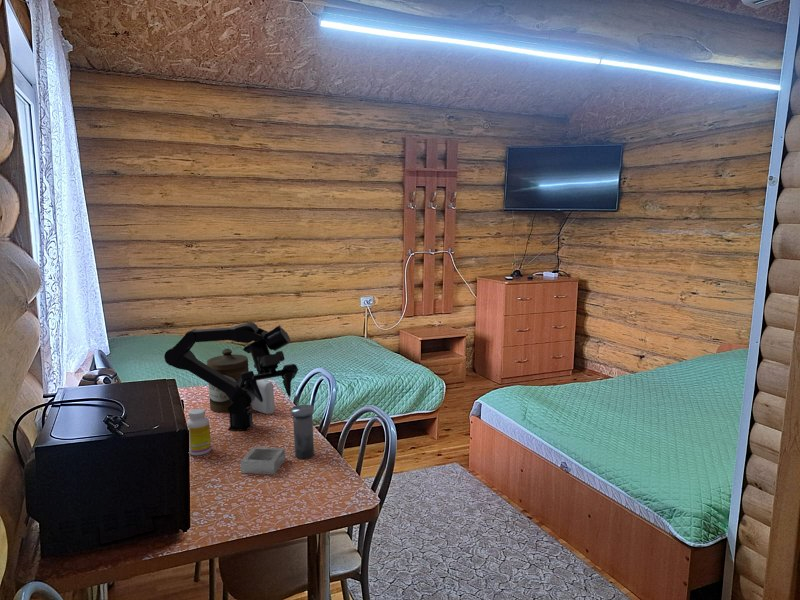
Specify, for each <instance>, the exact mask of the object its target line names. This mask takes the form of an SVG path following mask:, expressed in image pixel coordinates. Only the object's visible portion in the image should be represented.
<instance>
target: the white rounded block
mask: <svg viewBox="0 0 800 600" xmlns="http://www.w3.org/2000/svg"><path fill="white" fill-rule="evenodd" d="M257 385H258V388H259V390H260V393H261V395H262V399H263V401H262V402H260V401H259V400H258V399H257V398H256V397H255V399H254V400H253V402H252V403H251V408H252V409H251V410H254V411H257V412H259V413H263V414H267V415H272V414H273V413H274V412H275V410H276V409H275V407H276V406H275V395H274V393H275V391H274V384H273V383H272V382H271V381H270V380H269V379H268V378H267V379H262V380H257Z"/></svg>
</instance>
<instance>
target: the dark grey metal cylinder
mask: <svg viewBox="0 0 800 600" xmlns="http://www.w3.org/2000/svg"><path fill="white" fill-rule="evenodd" d="M314 413H315V407H314V406H313V405H311V404H298V405H295V406H293V407H291V409H290V414H291V416H292V418H293V419H292V421H293V439H294V441H293V442H294V457H295V458H296V459H299V460H307V459H311V458H313V457H314V456H315V443H314V422H313V419H314V418H313V415H314Z"/></svg>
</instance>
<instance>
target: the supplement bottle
mask: <svg viewBox="0 0 800 600" xmlns="http://www.w3.org/2000/svg"><path fill="white" fill-rule="evenodd" d="M205 415H206V409H204V408H194V409H190V410H189V411H188V417H189V418H188V420H187V421H186V422H187V425H188V428H189V440H190V454H189V455H192V456H202V455H206V454H208V453H210V451H211V450H212V441H211V440H212V439H211V427H210V425H211V424H210V420H209V418H208V417H206V416H205Z"/></svg>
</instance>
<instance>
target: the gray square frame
mask: <svg viewBox="0 0 800 600" xmlns="http://www.w3.org/2000/svg"><path fill="white" fill-rule="evenodd" d="M284 460H285V461H286V448H285V447H265V446H264V447H262V446H261V447H259V446H258V447H257V446H253V447H252V448H250V450H249V451H248V452H247V453H246V454H245V455H244V457H243V458H242V459H241V460H240V474H256V475H276V473H277V472H278V470H279V469H280V468H281V466H282V465H283V463H284V462H285V461H284Z"/></svg>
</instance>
